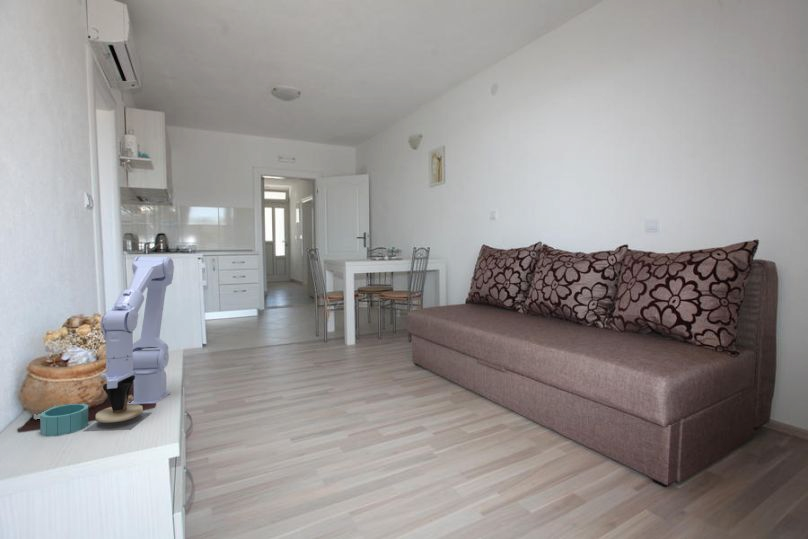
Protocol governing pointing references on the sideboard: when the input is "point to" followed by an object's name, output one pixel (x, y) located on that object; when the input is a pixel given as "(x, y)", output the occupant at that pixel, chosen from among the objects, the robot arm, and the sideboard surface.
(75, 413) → the bowl
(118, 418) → the lid
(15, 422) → the sideboard surface
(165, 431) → the sideboard surface
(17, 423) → the sideboard surface
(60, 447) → the sideboard surface
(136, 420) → the mat
